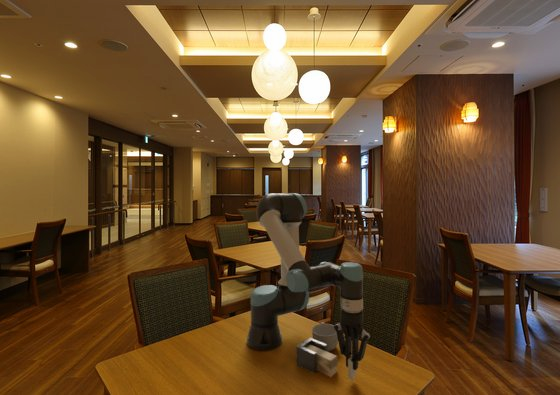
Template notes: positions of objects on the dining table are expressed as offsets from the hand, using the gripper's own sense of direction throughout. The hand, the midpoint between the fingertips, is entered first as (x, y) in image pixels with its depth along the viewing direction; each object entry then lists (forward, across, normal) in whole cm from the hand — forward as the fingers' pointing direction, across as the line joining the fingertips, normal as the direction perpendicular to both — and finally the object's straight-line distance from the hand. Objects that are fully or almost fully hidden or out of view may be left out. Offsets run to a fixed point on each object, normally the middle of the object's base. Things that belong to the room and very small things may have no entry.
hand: (352, 377), depth 102 cm
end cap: (+2, -17, 0) cm, 17 cm away
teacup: (+2, -20, +15) cm, 25 cm away
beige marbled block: (+2, -13, 0) cm, 13 cm away
